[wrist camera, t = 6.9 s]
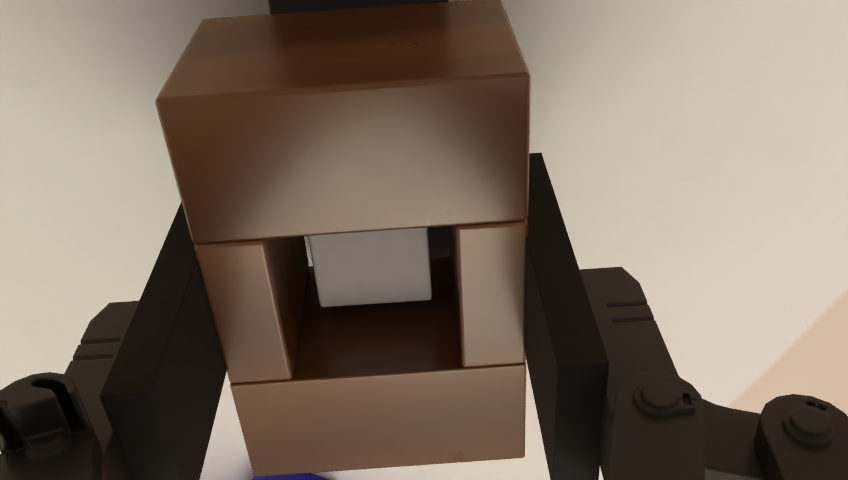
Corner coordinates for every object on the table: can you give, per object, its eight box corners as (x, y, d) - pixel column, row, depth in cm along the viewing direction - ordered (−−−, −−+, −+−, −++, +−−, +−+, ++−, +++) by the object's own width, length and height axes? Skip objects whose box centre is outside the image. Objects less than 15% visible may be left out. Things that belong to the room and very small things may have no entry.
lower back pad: (232, -265, 16) (166, -249, 11) (433, -280, 16) (449, -270, 11) (340, 389, 26) (329, 537, 21) (463, 381, 26) (478, 527, 21)
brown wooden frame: (201, 18, 16) (153, 99, 13) (501, -4, 16) (531, 72, 13) (275, 355, 21) (253, 477, 18) (503, 339, 21) (525, 458, 18)
